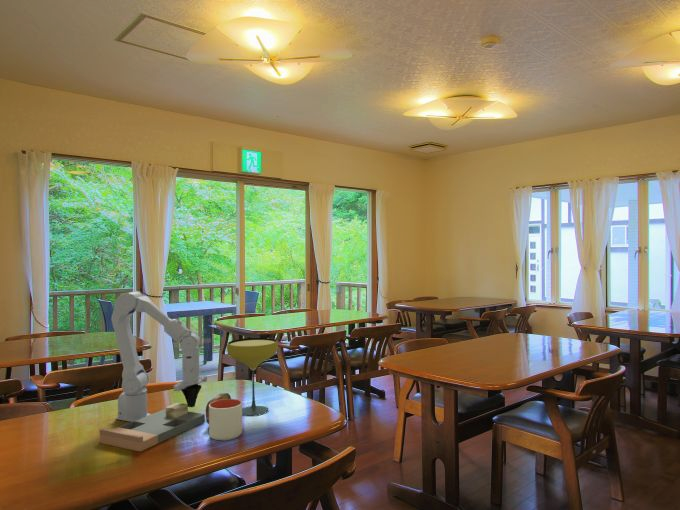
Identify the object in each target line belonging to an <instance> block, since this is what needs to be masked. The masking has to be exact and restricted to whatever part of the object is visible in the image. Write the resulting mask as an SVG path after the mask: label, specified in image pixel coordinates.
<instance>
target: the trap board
mask: <svg viewBox="0 0 680 510" xmlns="http://www.w3.org/2000/svg"><path fill="white" fill-rule="evenodd" d="M150 414H151V415H148V416H146V417H143V418H140V419H138V420H135V421H133V422H128V423H126V424H123V425H120V426H118V427H115V428H112V429H108V428H99V443H100V442H101V443H100V444H104V445H108V446H114V447H118V448H122V449H126V450H127V449H128V450H131V451H136V452H143V451H144V450H147V449H149V448H151V447H153V446H155V445H158V444H160V443H162V442H164V441H166V440H169V439H170V438H172V437H174V436H177V435H179V434H182V433H183V432H185V431H187V430H189V429H192V428H194V427H196V426H198V425H201V424H202V423H204V422H206V413H200V412H193V411H188V413H187V414H184V415H182V416H180V417H177V418H173V417H167V416H166V408H164V409H161V410H159V411H156V412H154V413H150Z"/></svg>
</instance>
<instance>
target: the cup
mask: <svg viewBox="0 0 680 510" xmlns="http://www.w3.org/2000/svg"><path fill="white" fill-rule="evenodd" d="M242 408H243V402H242V401H241V400H239V399H234V398H231V399H223V400H217V401H214V402H212V403H210V404H209V424H208V433H209V437H210V438H211V439H213V440H216V441H230V440H234V439H236V438H238V437H240V436H241V434H242V433H243V415H242Z"/></svg>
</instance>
